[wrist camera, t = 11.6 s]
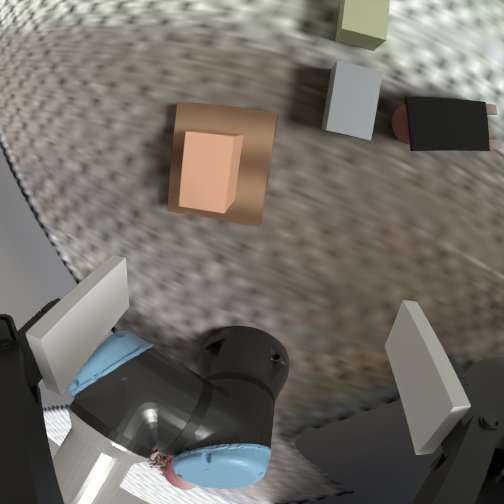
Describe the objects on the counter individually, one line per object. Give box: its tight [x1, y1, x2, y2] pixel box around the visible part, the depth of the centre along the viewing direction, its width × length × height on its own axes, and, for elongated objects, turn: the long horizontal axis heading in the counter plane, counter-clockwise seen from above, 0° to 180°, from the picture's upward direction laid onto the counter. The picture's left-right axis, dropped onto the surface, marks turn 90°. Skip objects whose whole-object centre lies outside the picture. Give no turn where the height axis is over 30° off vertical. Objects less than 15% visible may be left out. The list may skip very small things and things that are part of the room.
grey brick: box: [321, 60, 382, 141], centre depth 32 cm, size 8×5×6 cm, turn 172°
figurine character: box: [391, 97, 500, 151], centre depth 31 cm, size 7×8×15 cm
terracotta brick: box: [179, 130, 243, 213], centre depth 34 cm, size 8×5×6 cm, turn 172°
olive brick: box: [335, 0, 389, 51], centre depth 27 cm, size 8×5×6 cm, turn 172°
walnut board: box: [167, 102, 278, 226], centre depth 38 cm, size 14×12×3 cm
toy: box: [147, 449, 196, 490], centre depth 64 cm, size 12×11×15 cm
